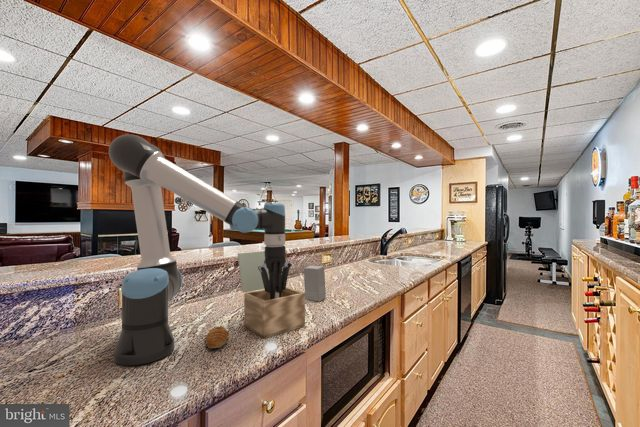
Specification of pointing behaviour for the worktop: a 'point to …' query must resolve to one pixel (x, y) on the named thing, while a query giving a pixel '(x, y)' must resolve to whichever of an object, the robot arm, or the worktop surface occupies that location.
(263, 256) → the lid
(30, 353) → the worktop surface
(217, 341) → the pastry
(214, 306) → the worktop surface
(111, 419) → the worktop surface
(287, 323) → the box
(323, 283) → the skincare box
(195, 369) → the worktop surface
